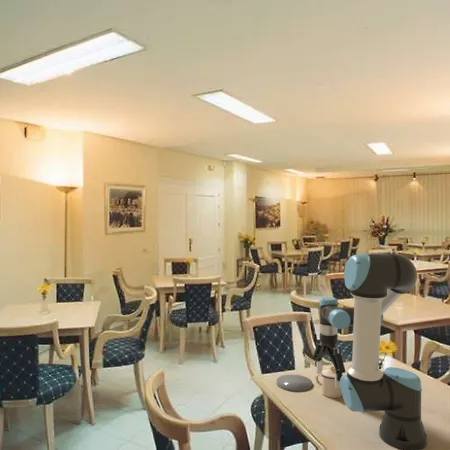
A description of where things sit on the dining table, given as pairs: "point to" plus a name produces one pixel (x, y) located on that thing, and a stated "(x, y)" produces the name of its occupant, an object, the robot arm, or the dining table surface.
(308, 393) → the dining table surface
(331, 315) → the robot arm
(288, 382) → the pad
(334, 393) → the teacup with lid
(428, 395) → the dining table surface
